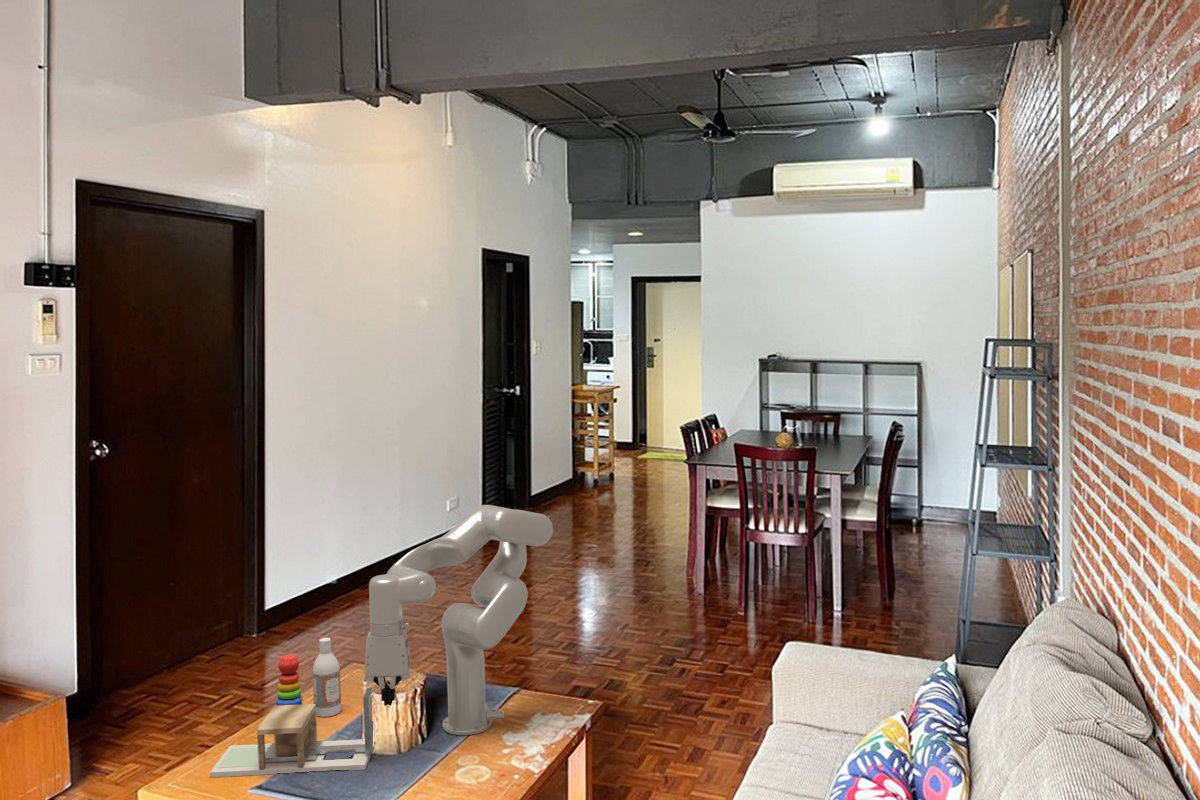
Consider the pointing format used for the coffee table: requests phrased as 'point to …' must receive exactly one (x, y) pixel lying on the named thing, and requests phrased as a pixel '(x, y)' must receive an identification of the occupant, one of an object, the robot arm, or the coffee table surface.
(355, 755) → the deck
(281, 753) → the walnut block
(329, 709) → the bath foam
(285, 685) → the stacking toy
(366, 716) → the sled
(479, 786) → the coffee table surface
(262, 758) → the tunnel
